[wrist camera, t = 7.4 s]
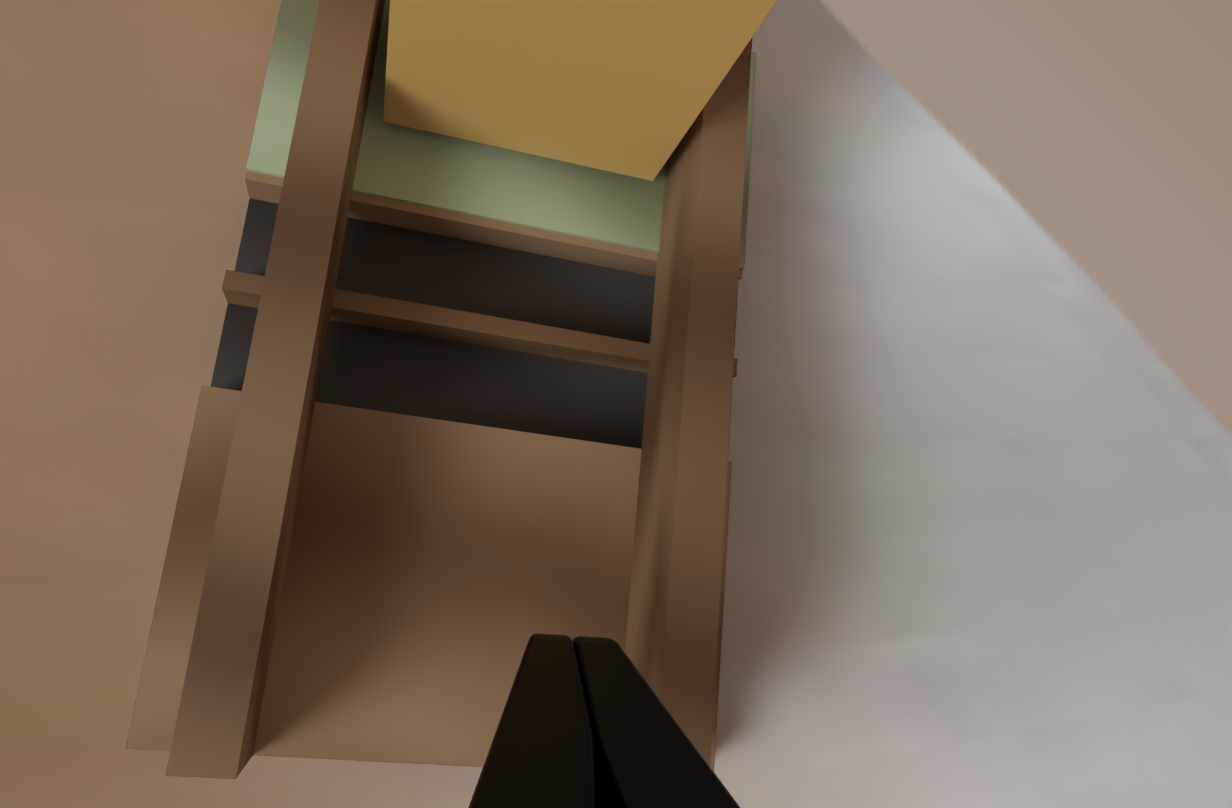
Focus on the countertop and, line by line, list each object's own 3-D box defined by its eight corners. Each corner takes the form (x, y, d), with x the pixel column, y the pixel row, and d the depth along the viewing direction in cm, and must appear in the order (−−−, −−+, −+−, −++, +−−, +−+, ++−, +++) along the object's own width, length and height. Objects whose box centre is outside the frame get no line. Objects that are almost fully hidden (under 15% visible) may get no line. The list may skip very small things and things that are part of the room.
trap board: (692, 769, 20) (765, 803, 16) (140, 739, 17) (85, 771, 13) (735, 81, 24) (800, -9, 20) (299, -30, 21) (288, -156, 18)
